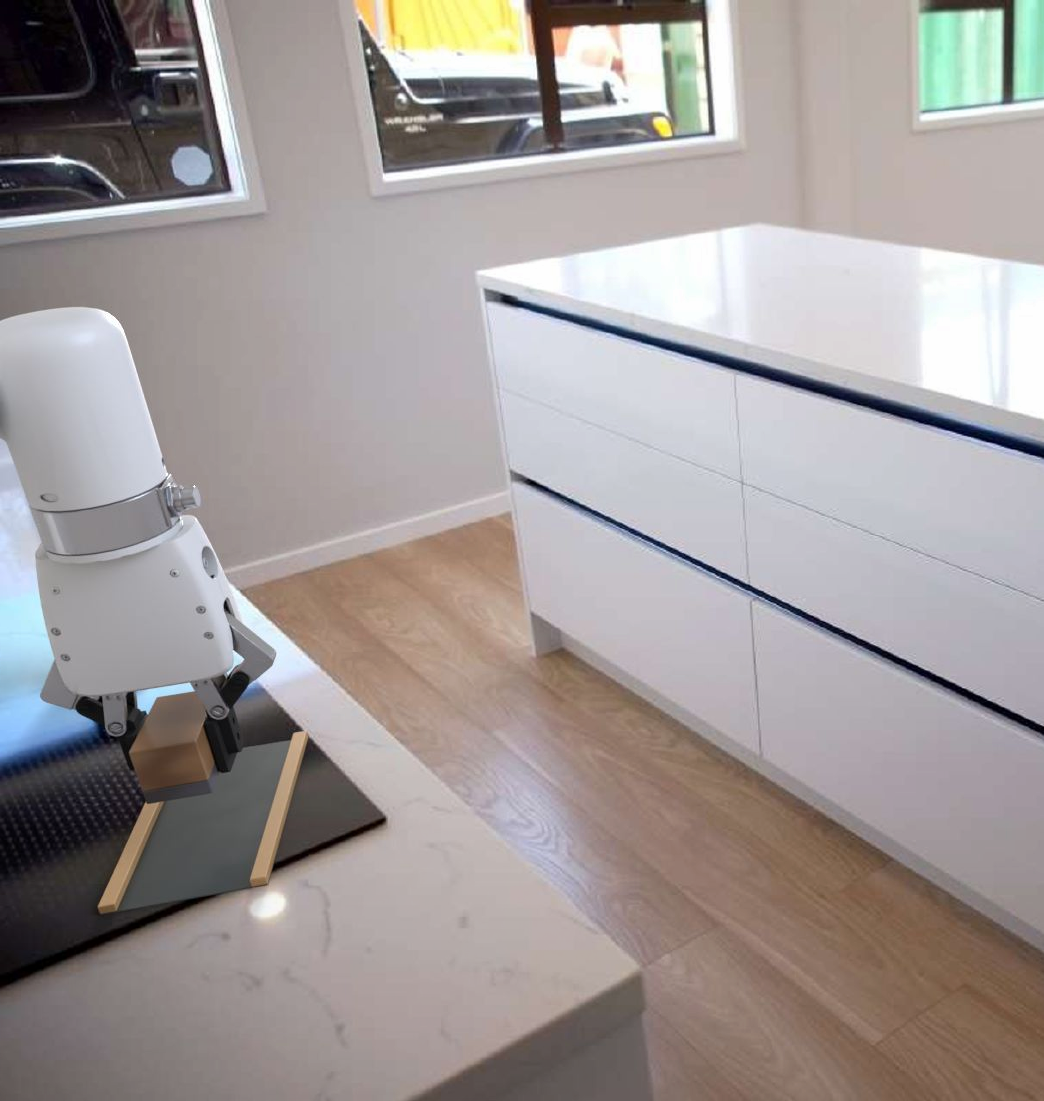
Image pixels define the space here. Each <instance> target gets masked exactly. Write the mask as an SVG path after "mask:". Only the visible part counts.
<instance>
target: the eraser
mask: <svg viewBox="0 0 1044 1101" xmlns="http://www.w3.org/2000/svg"><path fill="white" fill-rule="evenodd" d="M205 710H206V709H205V707H204V706H203V704H202V702H201V701H200V699H199V697H198V696H197V694H196V692H195V690H193V691H186V692H181V693H174V694H168V695H162V696H157V697H155V699H154V702H153V704H152V705H151V708H150V710H149V711H148V713H147V714H148V716H147V718H146V720H145V721H144V723H143V725H142V727H141V729H140V731H139V733H138V735H137V737H136V739H135V741H134V743H133V745H132V747H131V749H130V751H129V755H130V758H131V760H132V763H133V766H134V769H135V770H134V771H135V772H134V773H135V775H136V777H137V780H138V782H139V787H140V788H141V791H142V794H143V797H144V801H145V802H146V803H147V804H152V803H157V802H163V801H169V800H175V799H180V798H186V797H192V796H198V795H203V794H209V793H212V792H213V790H214V787H215V785H216V782H217V779H218V777H219V774H220V772H218V770H217V767H216V764H215V761H214V758H213V755H212V752H211V748H210V745H209V742H208V739H207V736H206V733H205V730H204V721H205V719H206V716H207V714H206V711H205Z"/></svg>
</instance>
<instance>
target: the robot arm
mask: <svg viewBox="0 0 1044 1101" xmlns="http://www.w3.org/2000/svg"><path fill="white" fill-rule="evenodd" d="M0 439H1V440H3V441H4V442H5V444H6V446H7V448H8V451H9V453H10V457H11V459H12V462H13V465H14V467H15V471H16V473H17V476H18V479H19V482H20V484H21V488H22V490H23V492H24V496H25V498H26V501H27V503H28V507H29V510H30V513H31V516H32V519H33V521H34V524H35V527H36V529H37V532H38V535H39V537H40V540H41V543H40V544H39V546H38V548H37V549H36V550H35V554H34V557H35V558H34V559H35V570H36V571H35V572H36V580H37V586H38V594H39V600H40V607H41V611H42V617H43V621H44V626H45V629H46V633H47V637H48V641H49V645H50V648H51V652H52V654H53V658H54V659H53V662H52V664H51V667H50V669H49V672H48V674H47V676H46V679H45V681H44V684H43V686H42V689H41V691H40V694H39V697H40V699H41V700H42V702H45V703H47V704H49V705H50V704H51V705H52V706H57V707H60V708H63V709H66V710H70V711H72V710H74V711H75V712H76V713H77V714H79V715H80V716H82V717H85V718H86V719H88V720H90V721H92V722H94V723H96V724H99V725H101V726H102V727H104V728H105V731H106V733H107V734H108V735H109V736H112V737H115V738H116V737H117V739H118V742H119V745H120V747H121V750H122V753H123V755H124V759H125V762H126V765H127V768H128V769H129V771H135V769H134V766H133V763H132V760H131V758H130V755H129V751H130V749H131V747H132V745H133V743H134V741H135V739H136V737H137V735H138V733H139V731H140V729H141V727H142V725H143V723H144V721H145V720H146V718H147V716H148V714H149V713H147V710H141V709H140V708H139V707H138V696H137V692H139V691H147V690H151V689H158V688H159V689H160V688H164V687H170V686H171V687H172V686H178V685H183V684H190V685H191V688H192V689H193V691H195V692H196V694H197V696H198V697H199V699H200V701H201V702H202V704H203V706H204V707H205V709H206V710H205V711H206V714H207V716H206V719H205V721H204V730H205V733H206V736H207V739H208V742H209V745H210V748H211V752H212V755H213V758H214V761H215V764H216V767H217V770H218V772H221V773H226V772H230V771H231V769H232V766H233V763H234V761H235V758H236V755H237V753H238V752H241V751H242V748H244V737H243V733H242V729H241V726H240V724H239V721H238V717H237V714H236V710H235V708H234V706H235V704H236V703H237V702H238V701H239V699H240V698H241V697H242V695H243V694H244V693H245V692H246V690H247V689H248V687H249V686H250V684H252V683H253V682H254V681H256V680H257V679H259V678H260V677H261V676H262V675H263V674H264V673H266V672H267V671H268V670H269V669H270V668H272V667H273V665H274V663H275V660H276V657H277V651H276V649H275V648H274V647H273V646H271V645H270V644H268V643H267V641H265V640H264V639H263V638H261V637H260V636H259V635H257V633H255V632H254V631H253V630H251V629H250V628H248V627H247V626H246V625H245V624H244V622H243V619H242V616H241V613H240V612H241V611H240V610H239V606H238V603H237V602H236V599H235V596H234V594H233V591H232V589H231V586H230V584H229V581H228V579H227V576H226V574H225V572H224V569H223V567H222V564H221V563H220V560H219V558H218V556H217V554H216V551H215V549H214V548H213V545H212V543H211V541H210V540H209V538H208V536H207V534H206V532H205V530H204V528H203V527H202V525H201V523H200V522H199V520H198V519H197V517H196V516H194V515H192V514H184V515H183V512H188V511H189V509H196V508H197V509H198V508H200V507H201V505H202V498H201V494H200V491H199V488H198V487H197V486H195V485H194V486H187V487H185V486H183V485H178V484H177V482H176V481H174V477H173V475H172V473H168V471H167V467H166V464H165V460H164V457H163V454H162V450H161V448H160V447H161V446H160V444H159V441H158V437H157V434H156V430H155V427H154V424H153V421H152V417H151V414H150V410H149V408H148V404H147V400H146V398H145V394H144V391H143V387H142V384H141V381H140V378H139V375H138V371H137V368H136V364H135V361H134V358H133V355H132V352H131V348H130V345H129V342H128V339H127V336H126V334H125V330H124V328H123V327H122V325H121V323H120V322H119V320H117V319H116V317H114V316H113V315H111V314H110V313H109V312H107V311H105V310H103V309H100V308H94V307H93V308H92V307H85V306H71V307H70V306H68V307H58V308H49V309H43V310H36V311H30V312H27V313H22V314H18V315H14V316H10V317H7V318H4V319H1V320H0ZM55 631H56V632H55ZM233 651H234V652H235V653H236V654H238V655H239V656H240V657H241V658H243V660H242V661H241V663H238V664H236V665H235V664H234V662H235V661H234V660H235V659H234V654H233ZM234 665H235V666H234ZM229 671H230V672H229ZM228 672H229V674H228Z"/></svg>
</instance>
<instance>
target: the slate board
mask: <svg viewBox="0 0 1044 1101" xmlns="http://www.w3.org/2000/svg"><path fill="white" fill-rule="evenodd" d="M308 742H309V734H308V731H307V730H304V731H297V732H293V734H292V736H291V739H290V740H284V741H278V742H272V743H265V744H260V745H254V746H253V745H252V746H246V747H243V748H242V751H241V752H238V753H237V755H236V758H235V761H234V763H233V766H232V769H231V771H230V772H226V773H221V772H220V774H219V777H218V779H217V782H216V785H215V787H214V790H213V792H212V793H209V794H203V795H198V796H192V797H186V798H180V799H175V800H169V801H163V802H157V803H152V804H147V803H146V801H145V802H144V804H143V806H142V809H141V811H140V813H139V815H138V818H137V819H136V822H135V824H134V826H133V829H132V831H131V833H130V835H129V837H128V840H127V842H126V844H125V846H124V848H123V850H122V853H121V855H120V857H119V859H118V862H117V863H116V866H115V868H114V870H113V872H112V875H111V876H110V879H109V881H108V883H107V885H106V887H105V889H104V891H103V895H102V896H101V898H100V900H99V902H98V904H97V909H98V913H99V914H100V916H104V915H109V914H110V915H111V914H115V913H119V912H126V911H131V910H136V909H142V908H147V907H154V906H160V905H165V904H170V903H176V902H181V901H187V900H192V899H198V898H203V897H209V896H215V895H221V894H226V893H232V892H236V891H241V890H247V889H254V888H258V887H265V886H268V885H269V883H270V880H271V875H272V871H273V868H274V865H275V861H276V857H277V853H278V850H279V846H280V843H281V840H282V835H283V832H284V829H285V824H286V821H287V817H288V814H289V810H290V807H291V803H292V801H293V800H292V799H293V795H294V792H295V789H296V785H297V781H298V777H299V774H300V770H301V766H302V763H303V760H304V756H305V753H306V748H307V745H308Z"/></svg>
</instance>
